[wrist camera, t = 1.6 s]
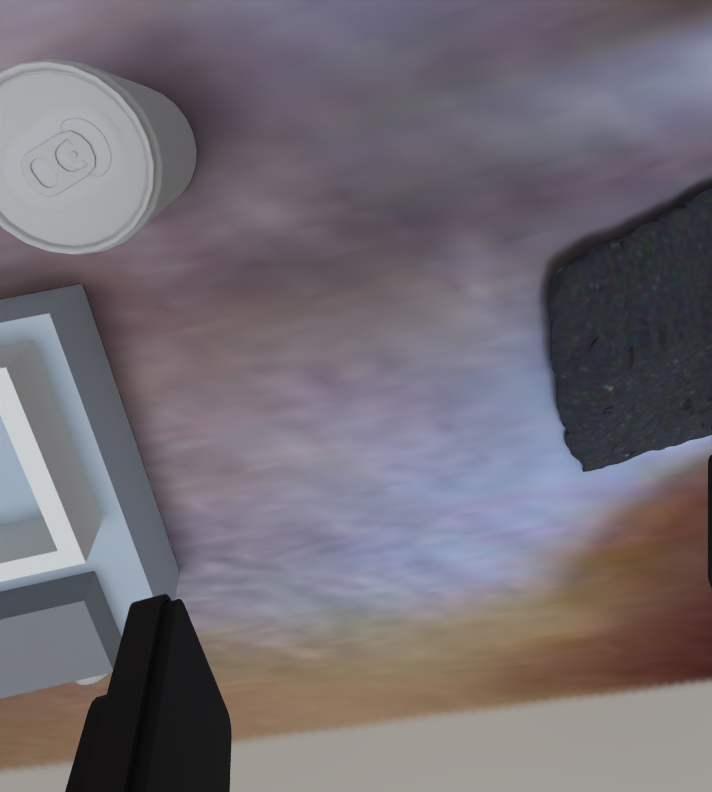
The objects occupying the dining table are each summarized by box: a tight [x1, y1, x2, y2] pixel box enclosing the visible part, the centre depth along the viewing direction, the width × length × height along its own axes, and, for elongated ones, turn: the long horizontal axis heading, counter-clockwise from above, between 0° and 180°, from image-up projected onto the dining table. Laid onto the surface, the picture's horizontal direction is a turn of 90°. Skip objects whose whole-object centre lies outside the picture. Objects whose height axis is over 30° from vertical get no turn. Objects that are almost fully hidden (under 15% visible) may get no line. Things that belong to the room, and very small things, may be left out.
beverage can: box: [0, 58, 197, 254], centre depth 22 cm, size 5×5×12 cm
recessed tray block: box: [0, 284, 180, 698], centre depth 29 cm, size 19×10×8 cm, turn 9°
